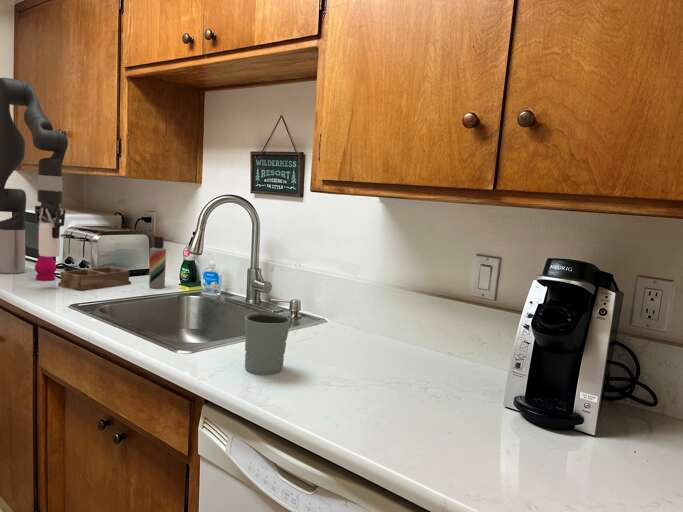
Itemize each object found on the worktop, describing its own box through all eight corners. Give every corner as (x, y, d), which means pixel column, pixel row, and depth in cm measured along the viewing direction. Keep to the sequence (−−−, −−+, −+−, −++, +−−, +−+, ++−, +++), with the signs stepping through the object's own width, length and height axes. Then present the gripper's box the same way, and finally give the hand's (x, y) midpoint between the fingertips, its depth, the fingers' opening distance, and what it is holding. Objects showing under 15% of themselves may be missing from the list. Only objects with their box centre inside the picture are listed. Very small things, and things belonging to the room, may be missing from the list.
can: (39, 257, 176) (40, 222, 174) (37, 254, 181) (37, 220, 180) (61, 257, 180) (61, 223, 178) (58, 254, 185) (58, 221, 183)
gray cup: (233, 366, 118) (236, 315, 116) (267, 358, 125) (270, 310, 124) (261, 379, 111) (264, 325, 109) (295, 370, 118) (299, 319, 117)
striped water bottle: (146, 286, 198) (148, 234, 195) (161, 285, 202) (162, 235, 199) (152, 289, 194) (154, 236, 191) (167, 288, 197) (168, 236, 195)
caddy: (58, 285, 187) (58, 271, 187) (108, 279, 206) (109, 266, 205) (81, 291, 181) (81, 276, 181) (130, 284, 200) (131, 271, 199)
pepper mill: (30, 279, 194) (30, 226, 192) (46, 276, 201) (46, 226, 199) (45, 281, 192) (45, 228, 190) (60, 279, 199) (61, 227, 197)
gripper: (26, 187, 178) (26, 235, 180) (52, 190, 171) (51, 239, 173) (48, 188, 184) (47, 234, 186) (73, 191, 177) (72, 238, 180)
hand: (49, 236), depth 180 cm, fingers closed on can, 6 cm apart
